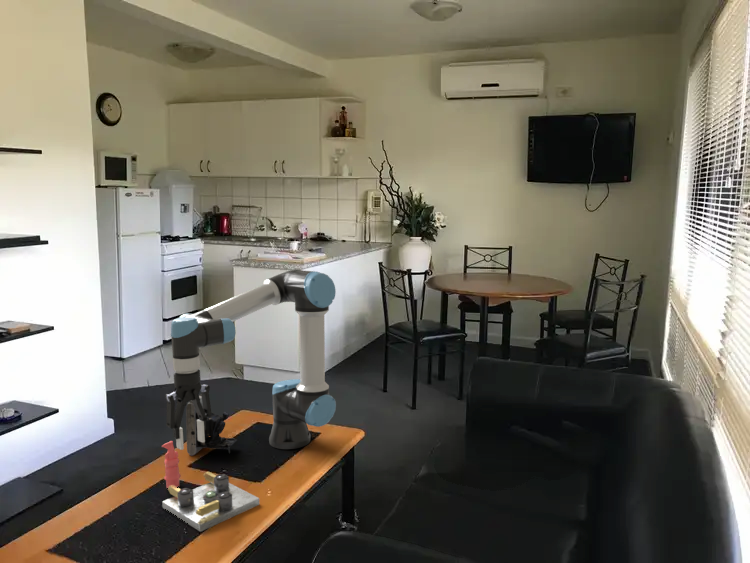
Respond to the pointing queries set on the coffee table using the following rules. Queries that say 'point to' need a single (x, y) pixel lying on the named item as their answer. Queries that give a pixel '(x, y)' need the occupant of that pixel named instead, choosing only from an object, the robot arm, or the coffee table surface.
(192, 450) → the vintage camera
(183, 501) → the screw
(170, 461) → the figurine
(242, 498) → the tribrach plate
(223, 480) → the screw
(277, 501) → the coffee table surface
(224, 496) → the screw side
